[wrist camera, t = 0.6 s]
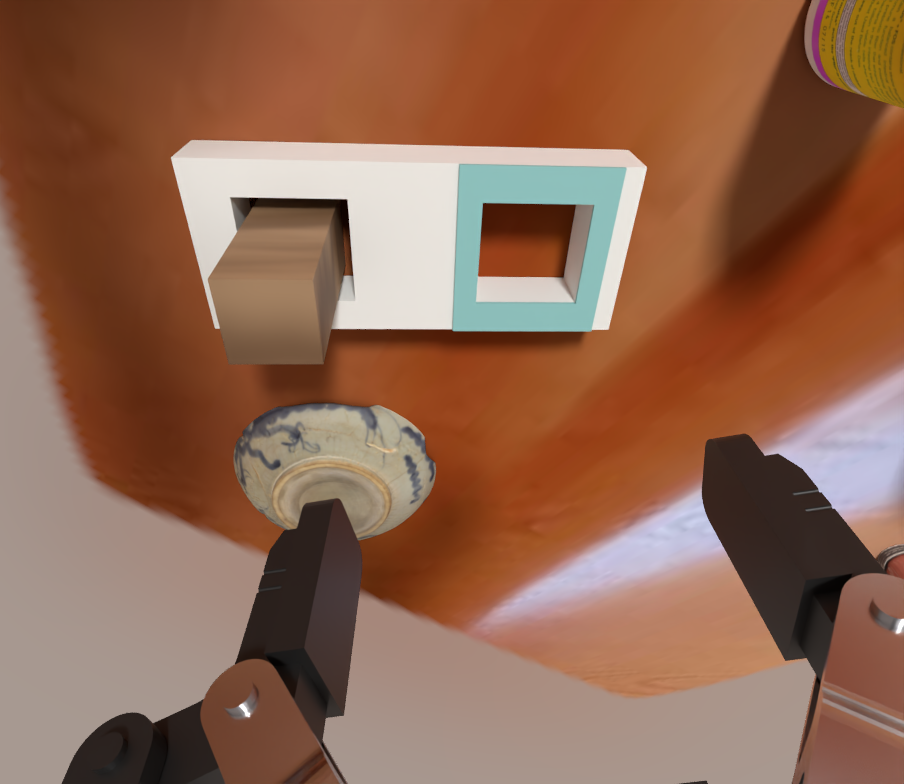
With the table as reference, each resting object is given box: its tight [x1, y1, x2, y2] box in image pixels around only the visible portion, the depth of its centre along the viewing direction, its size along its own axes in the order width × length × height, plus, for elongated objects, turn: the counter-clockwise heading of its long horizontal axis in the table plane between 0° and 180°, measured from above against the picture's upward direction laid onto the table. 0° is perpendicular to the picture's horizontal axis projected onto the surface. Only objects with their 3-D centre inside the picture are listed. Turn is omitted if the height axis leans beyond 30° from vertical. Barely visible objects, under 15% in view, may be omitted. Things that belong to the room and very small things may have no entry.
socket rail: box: [171, 140, 647, 331], centre depth 30 cm, size 9×22×3 cm, turn 88°
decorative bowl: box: [234, 403, 436, 540], centre depth 42 cm, size 15×4×15 cm
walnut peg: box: [208, 198, 346, 364], centre depth 27 cm, size 4×4×10 cm
